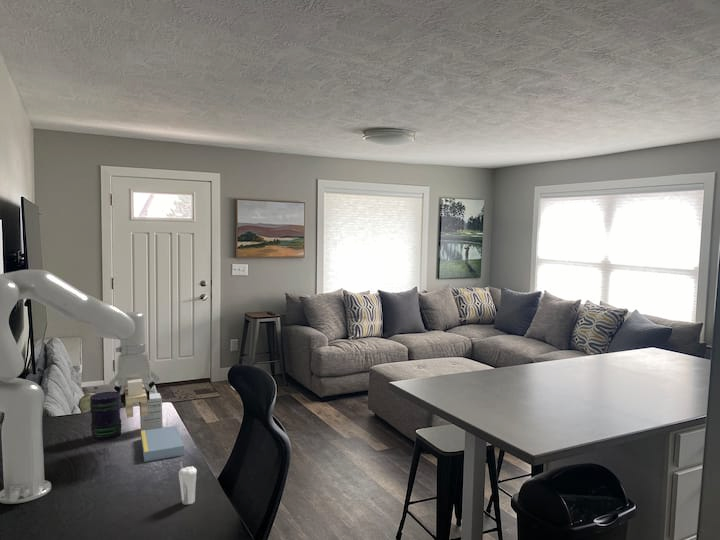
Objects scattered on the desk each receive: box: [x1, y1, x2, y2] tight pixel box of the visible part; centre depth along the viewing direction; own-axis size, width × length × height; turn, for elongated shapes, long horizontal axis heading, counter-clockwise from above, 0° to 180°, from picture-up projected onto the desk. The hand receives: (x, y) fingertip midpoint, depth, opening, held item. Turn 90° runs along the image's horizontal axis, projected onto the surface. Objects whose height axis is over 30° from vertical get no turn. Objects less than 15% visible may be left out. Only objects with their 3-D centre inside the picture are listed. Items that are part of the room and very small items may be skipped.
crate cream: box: [127, 379, 143, 396], centre depth 174 cm, size 4×4×4 cm
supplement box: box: [139, 392, 164, 431], centre depth 200 cm, size 7×7×13 cm
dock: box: [140, 425, 185, 463], centre depth 183 cm, size 22×12×3 cm, turn 24°
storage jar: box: [89, 386, 122, 442], centre depth 194 cm, size 10×10×18 cm
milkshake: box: [178, 461, 198, 506], centre depth 143 cm, size 4×5×10 cm
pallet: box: [124, 384, 148, 419], centre depth 180 cm, size 22×6×6 cm, turn 25°
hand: (135, 403), depth 180 cm, fingers closed on pallet, 6 cm apart
